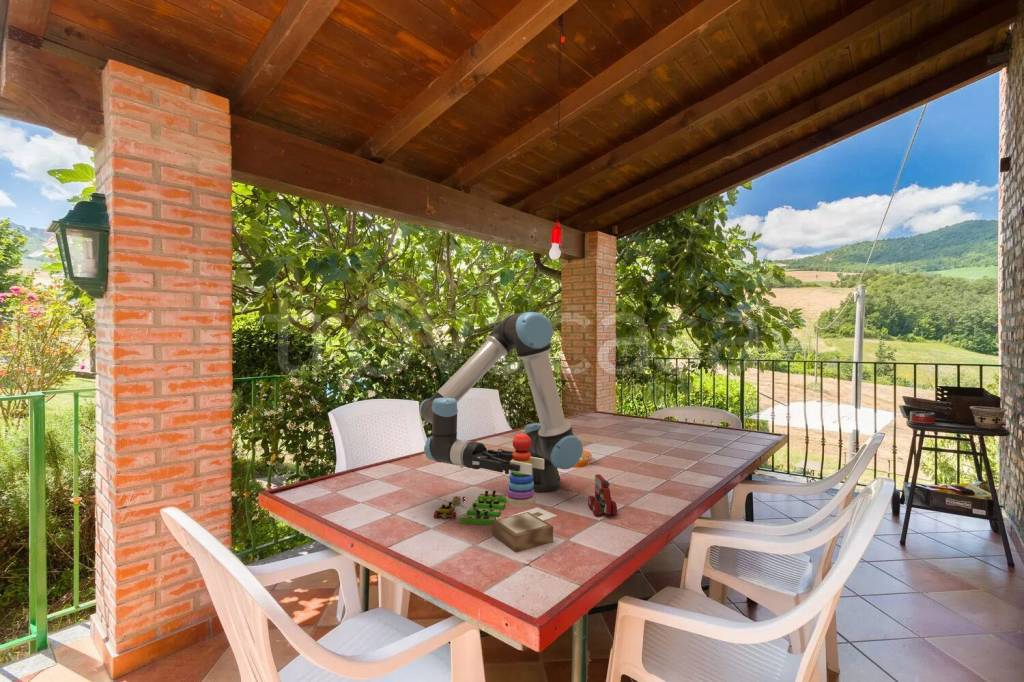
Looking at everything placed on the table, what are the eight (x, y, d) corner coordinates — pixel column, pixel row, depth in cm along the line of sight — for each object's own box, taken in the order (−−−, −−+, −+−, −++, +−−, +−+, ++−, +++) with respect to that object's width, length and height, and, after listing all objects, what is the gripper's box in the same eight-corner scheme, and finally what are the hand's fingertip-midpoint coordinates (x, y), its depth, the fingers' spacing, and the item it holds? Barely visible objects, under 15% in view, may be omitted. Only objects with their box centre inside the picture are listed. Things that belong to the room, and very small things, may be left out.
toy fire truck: (597, 519, 139) (597, 485, 139) (586, 505, 152) (586, 473, 152) (619, 518, 140) (619, 484, 140) (607, 504, 152) (607, 472, 152)
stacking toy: (532, 508, 122) (533, 437, 121) (503, 506, 123) (503, 436, 123) (537, 498, 129) (537, 431, 129) (509, 496, 131) (509, 430, 130)
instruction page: (537, 507, 149) (537, 506, 149) (557, 516, 142) (557, 515, 142) (508, 517, 141) (508, 516, 141) (527, 526, 134) (527, 525, 134)
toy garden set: (493, 527, 135) (493, 512, 135) (431, 523, 138) (431, 507, 138) (509, 500, 157) (509, 487, 157) (455, 497, 161) (455, 484, 161)
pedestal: (528, 525, 135) (528, 511, 135) (553, 541, 125) (553, 525, 124) (492, 535, 128) (492, 519, 128) (515, 552, 118) (515, 535, 118)
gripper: (488, 460, 144) (554, 472, 131) (448, 474, 128) (518, 490, 116) (488, 436, 144) (554, 446, 131) (448, 447, 128) (519, 460, 116)
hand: (537, 466), depth 123 cm, fingers closed on stacking toy, 6 cm apart
